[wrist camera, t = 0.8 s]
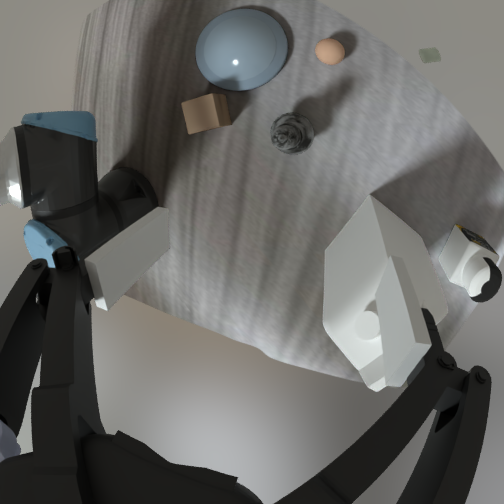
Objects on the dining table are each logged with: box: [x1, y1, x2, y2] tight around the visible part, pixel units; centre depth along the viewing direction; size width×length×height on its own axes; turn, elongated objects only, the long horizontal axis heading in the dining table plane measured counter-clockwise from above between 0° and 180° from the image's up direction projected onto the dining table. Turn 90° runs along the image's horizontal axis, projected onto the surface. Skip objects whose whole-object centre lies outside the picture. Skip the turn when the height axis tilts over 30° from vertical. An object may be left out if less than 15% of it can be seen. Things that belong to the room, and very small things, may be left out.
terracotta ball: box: [315, 38, 345, 65], centre depth 29 cm, size 4×4×4 cm
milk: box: [323, 194, 448, 392], centre depth 31 cm, size 12×12×26 cm
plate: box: [196, 9, 288, 91], centre depth 33 cm, size 14×14×1 cm
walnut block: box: [181, 93, 232, 134], centre depth 37 cm, size 5×5×5 cm
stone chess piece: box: [271, 113, 314, 155], centre depth 33 cm, size 6×6×12 cm
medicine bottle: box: [438, 224, 502, 302], centre depth 32 cm, size 7×7×12 cm
